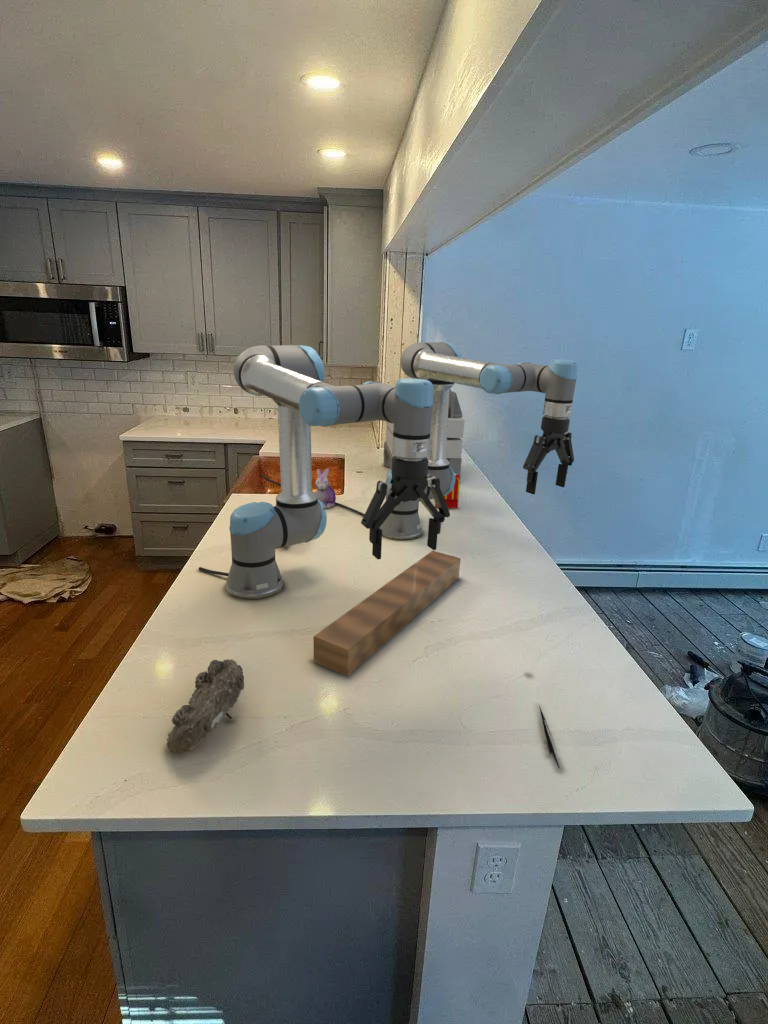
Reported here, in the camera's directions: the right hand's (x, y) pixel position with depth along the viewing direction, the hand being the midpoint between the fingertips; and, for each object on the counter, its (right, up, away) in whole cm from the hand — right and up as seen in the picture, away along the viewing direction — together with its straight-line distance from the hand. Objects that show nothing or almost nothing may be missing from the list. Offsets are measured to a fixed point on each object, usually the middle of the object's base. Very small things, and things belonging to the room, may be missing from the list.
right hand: (545, 489), depth 165 cm
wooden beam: (-44, -33, -18) cm, 58 cm away
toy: (-23, -1, +75) cm, 78 cm away
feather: (-16, -47, -54) cm, 73 cm away
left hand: (-43, -15, -43) cm, 62 cm away
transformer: (-30, +12, +109) cm, 114 cm away
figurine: (-71, -4, +59) cm, 92 cm away
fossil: (-80, -46, -57) cm, 108 cm away
